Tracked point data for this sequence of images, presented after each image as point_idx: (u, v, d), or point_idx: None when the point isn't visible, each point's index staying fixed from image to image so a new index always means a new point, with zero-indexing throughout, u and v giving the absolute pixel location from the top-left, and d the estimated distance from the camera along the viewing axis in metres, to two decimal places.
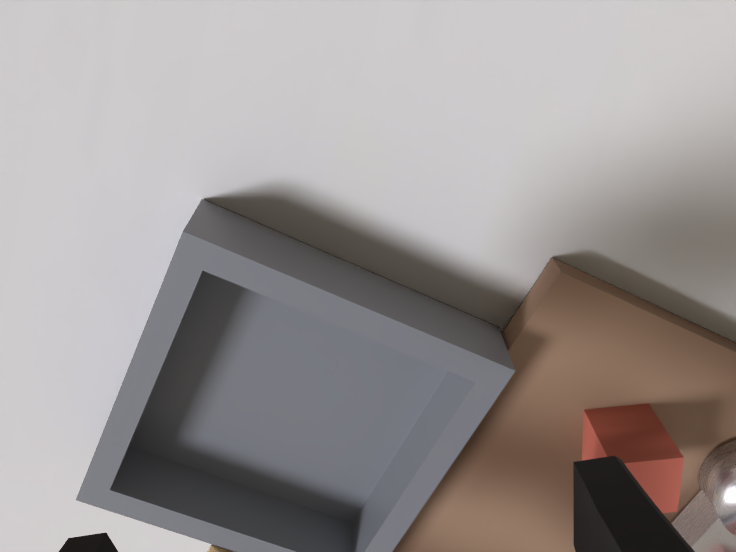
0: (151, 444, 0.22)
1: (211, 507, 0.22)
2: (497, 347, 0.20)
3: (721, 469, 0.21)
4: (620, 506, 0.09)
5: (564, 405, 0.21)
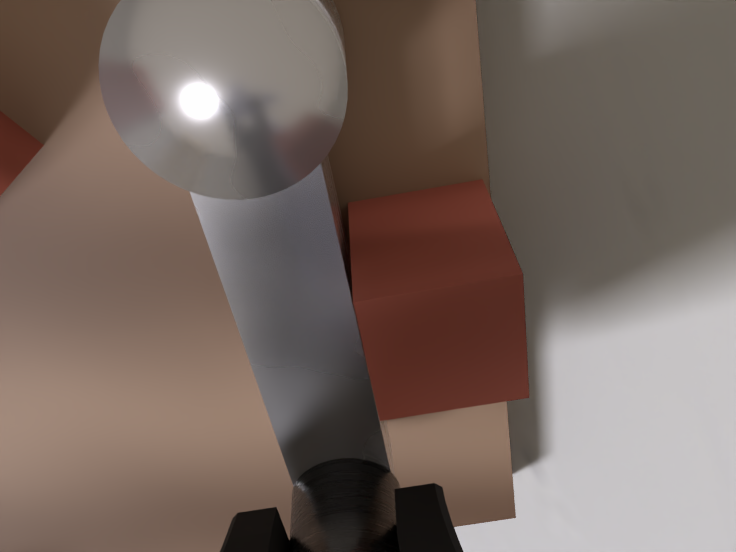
0: None
1: None
2: None
3: None
4: (419, 536, 0.09)
5: None
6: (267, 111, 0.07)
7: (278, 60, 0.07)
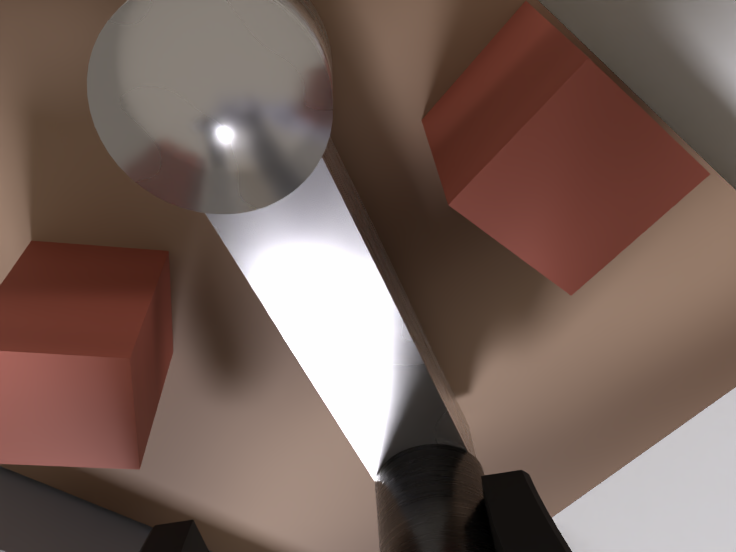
0: None
1: None
2: None
3: None
4: (517, 521, 0.09)
5: None
6: (257, 119, 0.07)
7: (255, 66, 0.07)
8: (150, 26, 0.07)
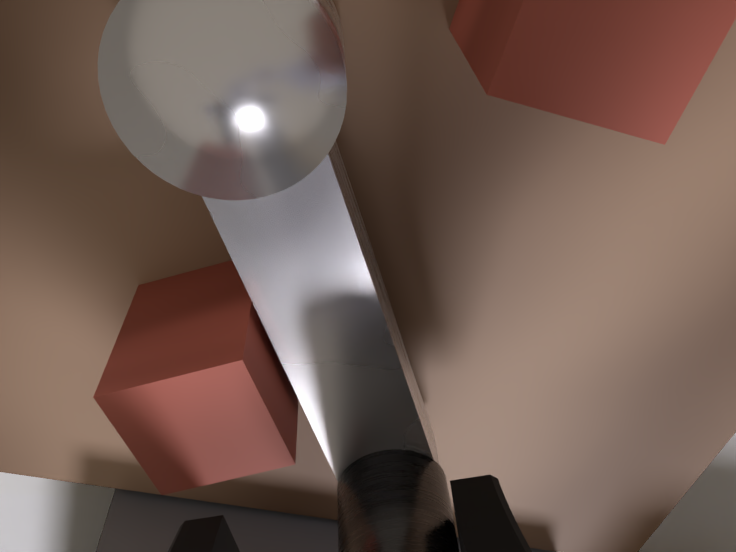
0: None
1: None
2: None
3: None
4: (482, 526, 0.09)
5: None
6: (268, 107, 0.07)
7: (273, 54, 0.07)
8: (172, 1, 0.07)
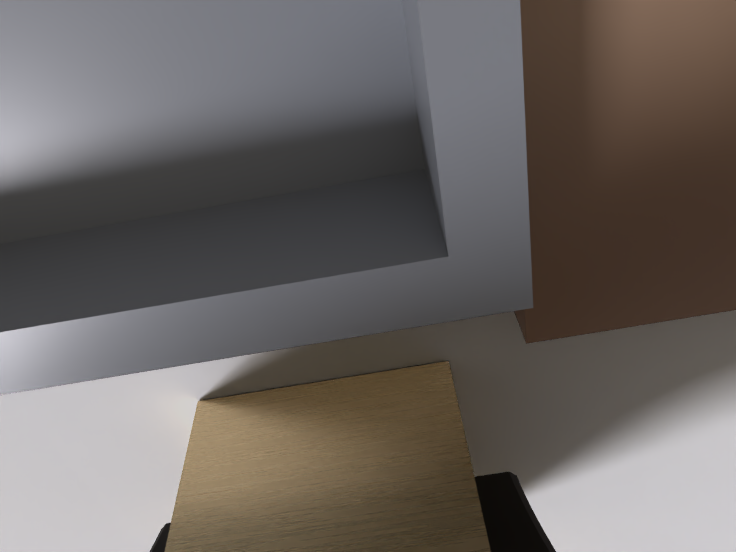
0: None
1: None
2: None
3: None
4: (503, 524, 0.09)
5: None
6: None
7: None
8: None
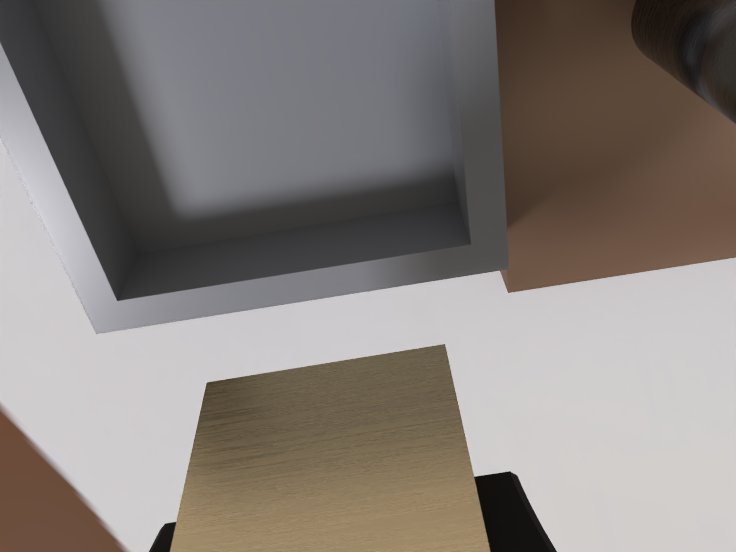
0: (157, 237, 0.17)
1: (253, 264, 0.16)
2: None
3: None
4: (503, 523, 0.09)
5: None
6: None
7: None
8: None
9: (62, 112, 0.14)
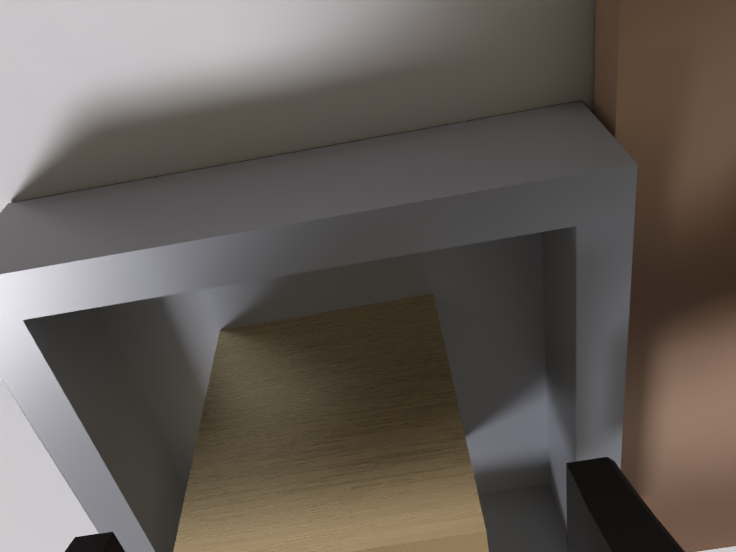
0: None
1: None
2: (586, 139, 0.10)
3: None
4: (612, 507, 0.09)
5: None
6: None
7: None
8: None
9: (138, 443, 0.13)
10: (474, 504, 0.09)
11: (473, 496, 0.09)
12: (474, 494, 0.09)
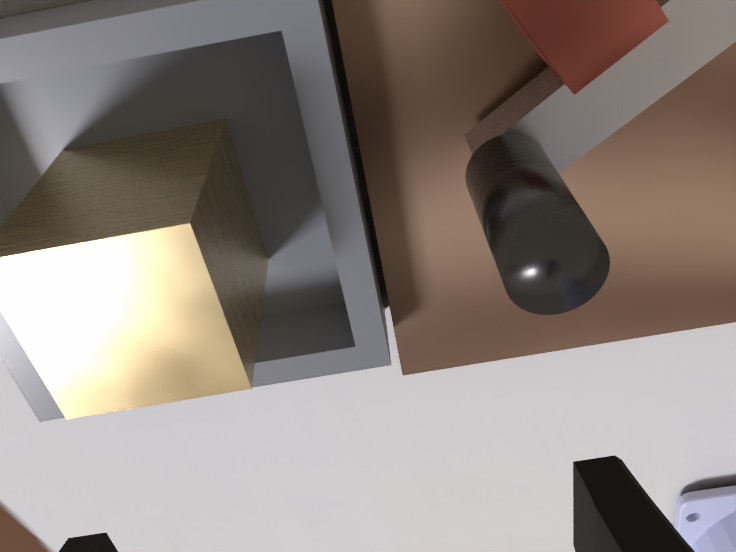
0: None
1: None
2: None
3: None
4: (620, 506, 0.09)
5: None
6: None
7: None
8: None
9: None
10: (190, 213, 0.12)
11: (192, 210, 0.12)
12: (193, 209, 0.12)
